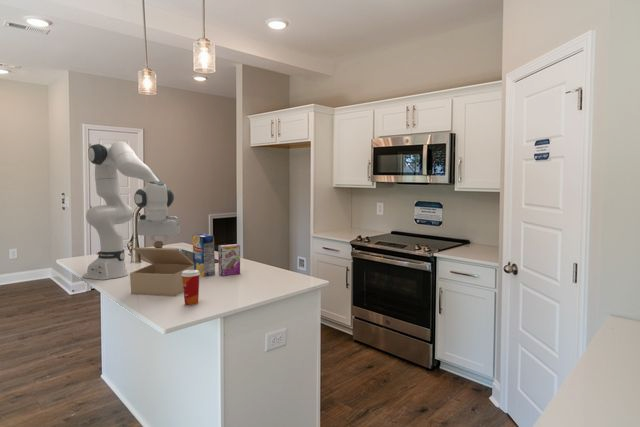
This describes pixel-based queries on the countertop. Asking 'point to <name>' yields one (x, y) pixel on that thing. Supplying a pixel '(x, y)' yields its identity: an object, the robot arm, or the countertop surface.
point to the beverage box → (204, 254)
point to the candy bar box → (229, 259)
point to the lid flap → (164, 255)
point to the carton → (158, 279)
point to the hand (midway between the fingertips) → (159, 245)
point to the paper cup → (191, 286)
